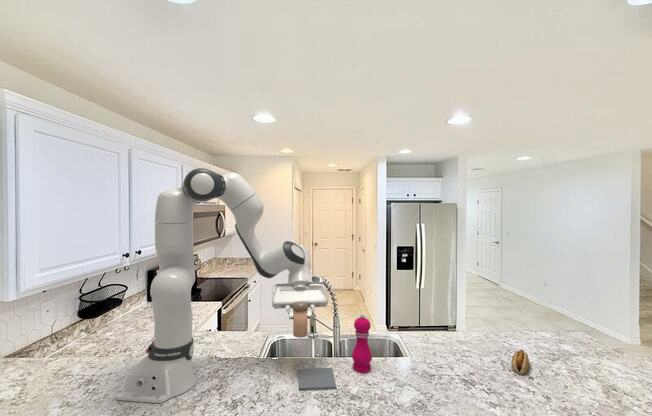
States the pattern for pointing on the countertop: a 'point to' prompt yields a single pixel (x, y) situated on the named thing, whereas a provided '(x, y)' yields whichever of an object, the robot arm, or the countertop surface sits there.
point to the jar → (300, 319)
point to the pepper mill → (362, 346)
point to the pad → (316, 379)
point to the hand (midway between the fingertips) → (300, 318)
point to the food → (520, 362)
